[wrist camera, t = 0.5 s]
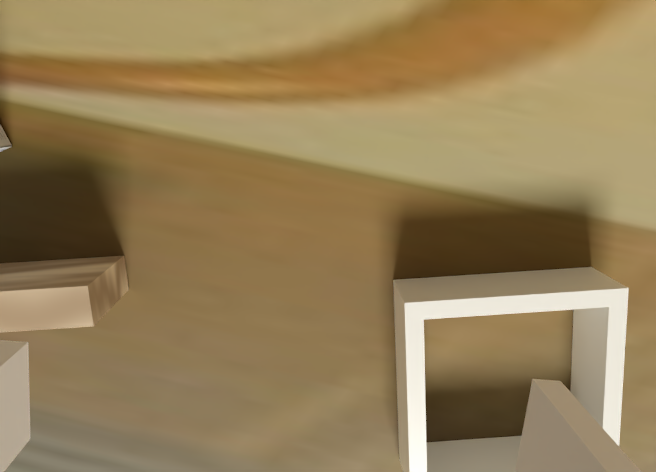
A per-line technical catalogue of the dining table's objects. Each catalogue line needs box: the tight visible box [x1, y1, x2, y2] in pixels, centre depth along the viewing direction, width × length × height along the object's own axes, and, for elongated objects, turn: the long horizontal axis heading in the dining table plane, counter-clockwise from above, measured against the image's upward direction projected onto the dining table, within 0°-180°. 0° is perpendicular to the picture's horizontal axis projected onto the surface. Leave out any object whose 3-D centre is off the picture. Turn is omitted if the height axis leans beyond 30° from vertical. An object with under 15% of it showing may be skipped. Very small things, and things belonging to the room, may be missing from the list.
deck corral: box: [393, 267, 629, 472], centre depth 41 cm, size 14×14×5 cm
